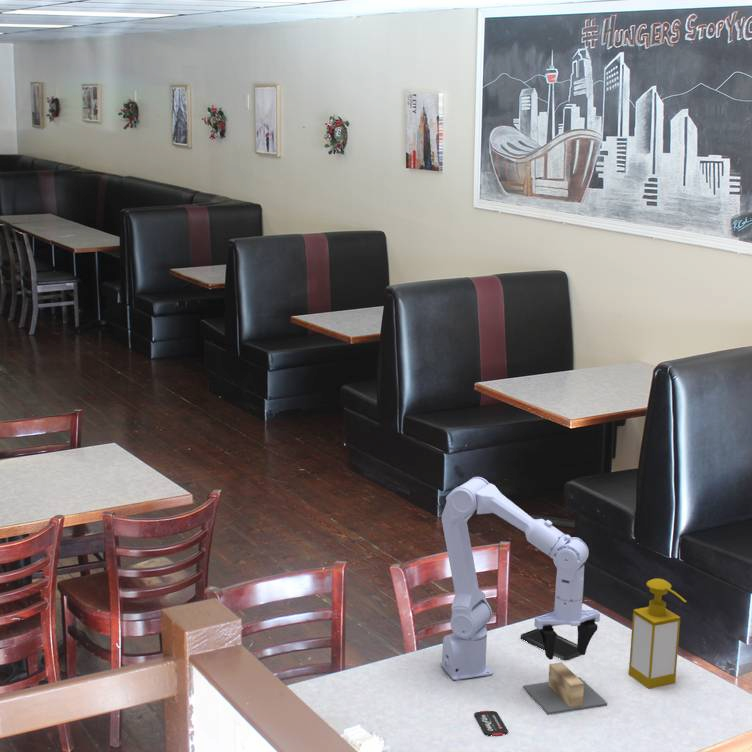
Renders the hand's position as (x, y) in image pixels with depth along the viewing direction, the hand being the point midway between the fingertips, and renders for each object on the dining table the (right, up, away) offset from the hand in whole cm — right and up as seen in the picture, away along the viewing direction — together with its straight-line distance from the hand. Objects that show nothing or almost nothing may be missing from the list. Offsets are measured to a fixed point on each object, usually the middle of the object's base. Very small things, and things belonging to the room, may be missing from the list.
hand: (565, 655), depth 235 cm
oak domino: (0, -9, +1) cm, 9 cm away
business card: (-17, -12, -10) cm, 23 cm away
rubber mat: (0, -9, +1) cm, 9 cm away
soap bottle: (+22, -9, +8) cm, 25 cm away
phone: (+1, -5, +26) cm, 26 cm away
